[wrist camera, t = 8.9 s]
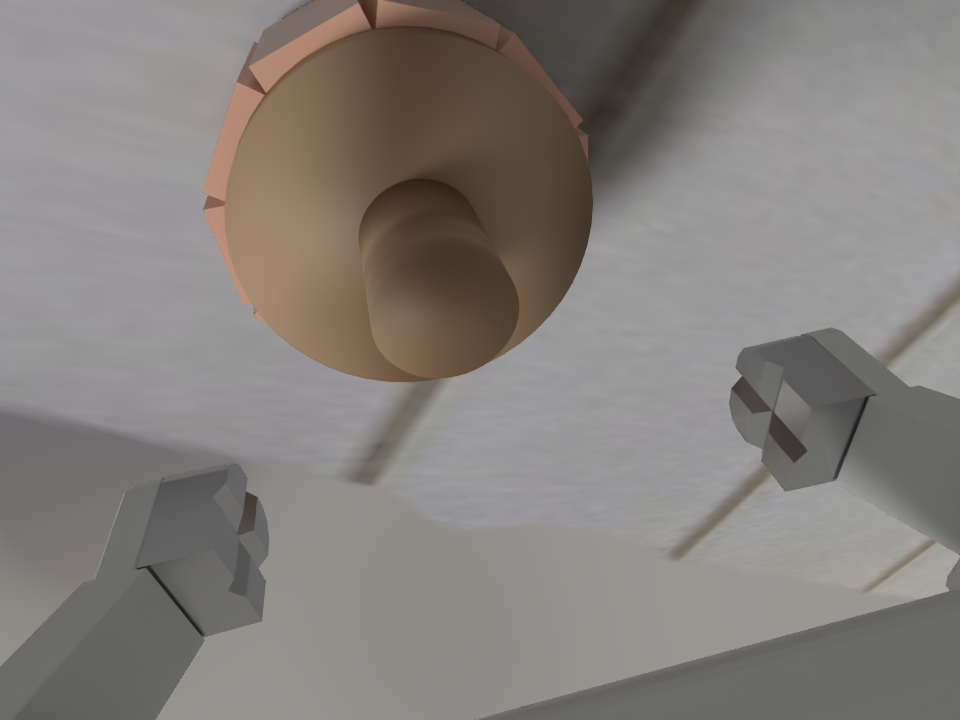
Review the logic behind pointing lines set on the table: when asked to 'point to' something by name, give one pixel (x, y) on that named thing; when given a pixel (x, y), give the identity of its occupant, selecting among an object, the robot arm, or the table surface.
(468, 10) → the faceted hollow tube
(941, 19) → the table surface
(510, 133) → the lid
